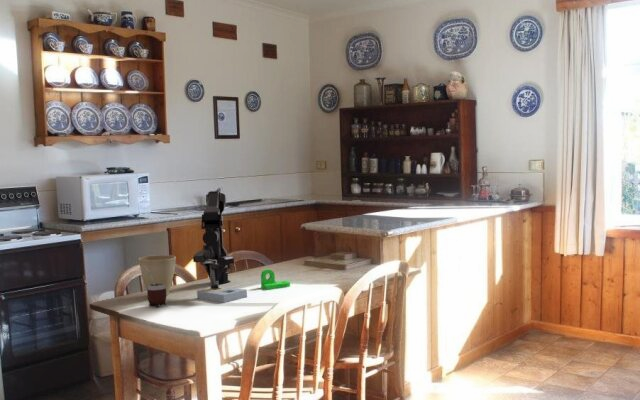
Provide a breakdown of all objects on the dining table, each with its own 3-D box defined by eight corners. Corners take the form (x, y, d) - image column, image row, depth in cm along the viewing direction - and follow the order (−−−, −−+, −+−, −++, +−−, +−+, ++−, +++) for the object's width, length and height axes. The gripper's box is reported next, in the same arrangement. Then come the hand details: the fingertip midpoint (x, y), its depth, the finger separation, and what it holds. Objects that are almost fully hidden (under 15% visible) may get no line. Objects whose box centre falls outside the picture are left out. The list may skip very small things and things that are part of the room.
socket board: (197, 298, 263) (196, 290, 263) (219, 292, 272) (219, 285, 272) (224, 302, 253) (224, 294, 253) (246, 297, 262) (246, 289, 262)
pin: (209, 288, 265) (207, 263, 264) (214, 286, 267) (213, 262, 267) (214, 288, 263) (213, 264, 262) (220, 287, 265) (219, 263, 265)
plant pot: (158, 301, 260) (156, 261, 259) (132, 297, 268) (130, 259, 267) (185, 293, 273) (183, 255, 272) (159, 291, 281) (158, 254, 280)
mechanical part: (267, 290, 276) (266, 271, 275) (261, 288, 281) (260, 269, 280) (292, 287, 281) (292, 268, 281) (286, 284, 287) (285, 266, 286)
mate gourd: (167, 306, 250) (165, 267, 249) (145, 308, 248) (144, 269, 247) (166, 302, 257) (164, 264, 256) (145, 304, 255) (143, 266, 254)
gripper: (181, 243, 264) (183, 281, 265) (213, 245, 252) (214, 286, 253) (203, 239, 272) (204, 277, 273) (234, 242, 260) (235, 281, 261)
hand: (214, 280), depth 265 cm, fingers closed on pin, 3 cm apart
